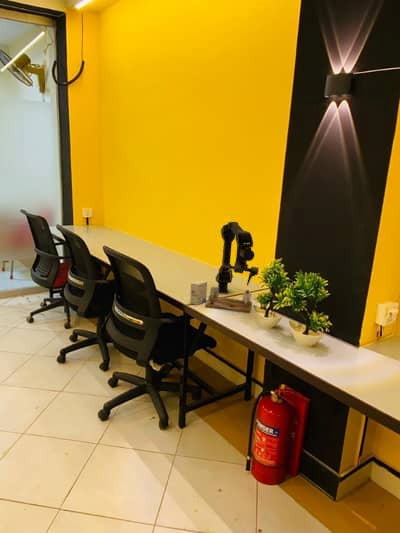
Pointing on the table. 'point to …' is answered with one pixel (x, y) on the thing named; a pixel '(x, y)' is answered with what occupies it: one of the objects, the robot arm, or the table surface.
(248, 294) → the gauge slider
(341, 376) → the table surface
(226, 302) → the hole board
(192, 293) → the ink box
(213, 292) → the gauge fixed leg
